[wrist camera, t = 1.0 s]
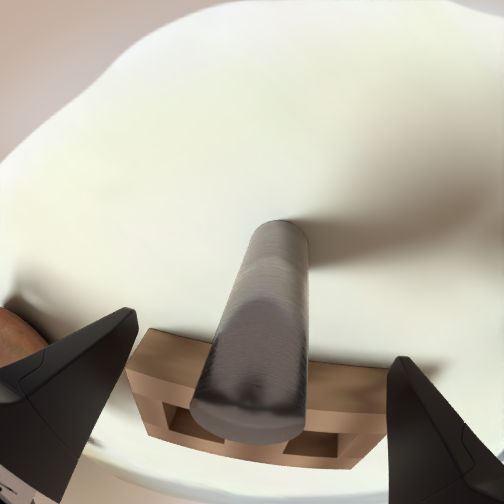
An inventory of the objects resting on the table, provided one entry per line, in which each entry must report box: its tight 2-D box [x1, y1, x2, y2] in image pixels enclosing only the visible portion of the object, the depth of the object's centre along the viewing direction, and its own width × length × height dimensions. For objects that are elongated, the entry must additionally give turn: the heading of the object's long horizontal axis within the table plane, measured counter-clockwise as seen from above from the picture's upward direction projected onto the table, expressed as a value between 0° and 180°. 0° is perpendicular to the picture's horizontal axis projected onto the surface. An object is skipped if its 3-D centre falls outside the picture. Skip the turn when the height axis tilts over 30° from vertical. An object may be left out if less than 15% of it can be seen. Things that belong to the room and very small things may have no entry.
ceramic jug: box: [0, 307, 49, 367], centre depth 19 cm, size 18×14×14 cm
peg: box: [189, 220, 309, 445], centre depth 11 cm, size 3×3×10 cm
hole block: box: [125, 328, 389, 469], centre depth 20 cm, size 18×10×4 cm, turn 84°
